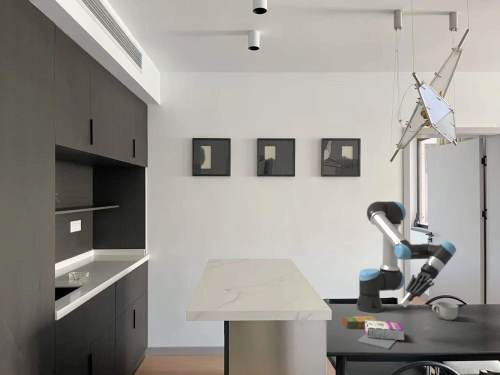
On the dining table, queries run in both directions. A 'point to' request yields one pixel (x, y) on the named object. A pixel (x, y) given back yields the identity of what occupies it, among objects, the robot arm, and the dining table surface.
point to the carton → (356, 321)
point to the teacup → (446, 310)
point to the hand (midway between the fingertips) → (402, 305)
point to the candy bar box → (384, 330)
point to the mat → (377, 341)
